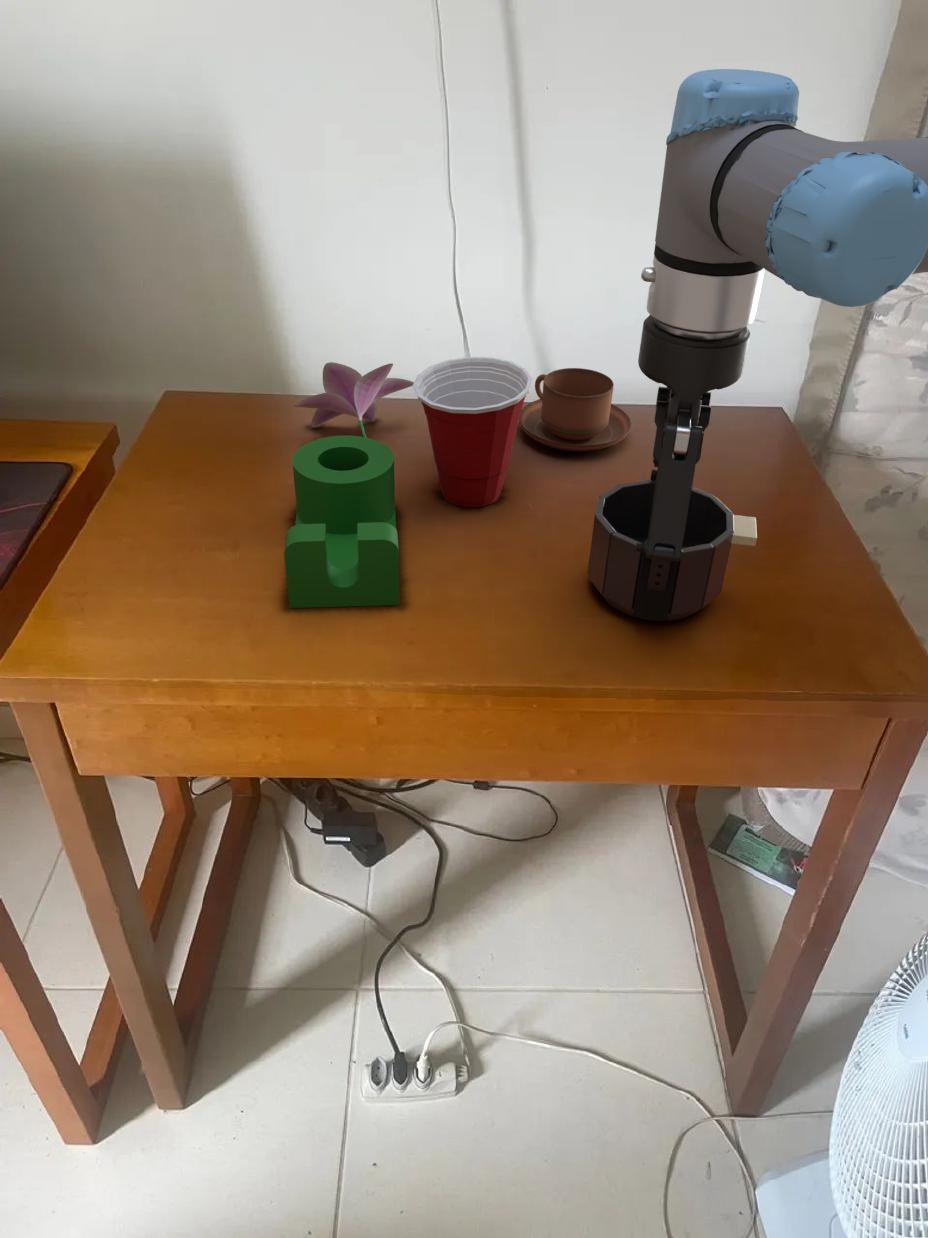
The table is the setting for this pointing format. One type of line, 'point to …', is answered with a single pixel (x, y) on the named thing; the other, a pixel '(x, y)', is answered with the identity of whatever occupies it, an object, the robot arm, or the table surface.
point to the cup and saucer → (575, 411)
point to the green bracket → (343, 525)
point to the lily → (352, 393)
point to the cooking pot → (628, 524)
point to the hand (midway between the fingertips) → (653, 574)
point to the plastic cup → (472, 423)
